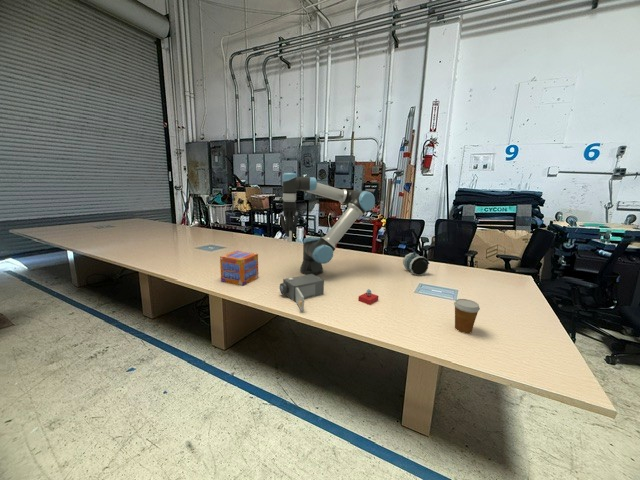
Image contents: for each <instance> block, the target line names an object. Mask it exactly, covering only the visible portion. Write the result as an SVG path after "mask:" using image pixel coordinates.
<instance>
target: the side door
mask: <svg viewBox="0 0 640 480" xmlns="http://www.w3.org/2000/svg"><path fill="white" fill-rule="evenodd" d="M294 302H295V303H296V304H297V306H298V307H299V309H300V311H301V312H305V307H304V306H305V299H304V296H303V295H302V293H301V292H300V290H299V288H298V287H295V301H294Z"/></svg>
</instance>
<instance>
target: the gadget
mask: <svg viewBox="0 0 640 480" xmlns="http://www.w3.org/2000/svg"><path fill="white" fill-rule="evenodd" d="M429 264H430V261H429V259H427V258H426V257H424V256H422V255H421V256H420V255H419V254H418V253H417V252H416V251H413V252H409V253H408V254H405V256H404V257H403V259H402V265H403V266H404V268H405V270H407V271H409V272H411V273H412V274H413V275H415V276H422V275H424V274H425V273H426V272H427V271H428V269H429Z"/></svg>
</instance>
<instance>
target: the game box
mask: <svg viewBox="0 0 640 480" xmlns="http://www.w3.org/2000/svg"><path fill="white" fill-rule="evenodd" d="M219 257H220V258H219V267H220V268H219V269H220V282H221V283H225V284H230V285H231V284H232V285H236V286H240V287H243V286H246V285H247V283H248V284H249V283H252V282H253V281H255V280H257V279H259V253H255V252H248V251H242V250H236V251H233V252H229V253H225V254H222V255H220V256H219Z"/></svg>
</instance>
